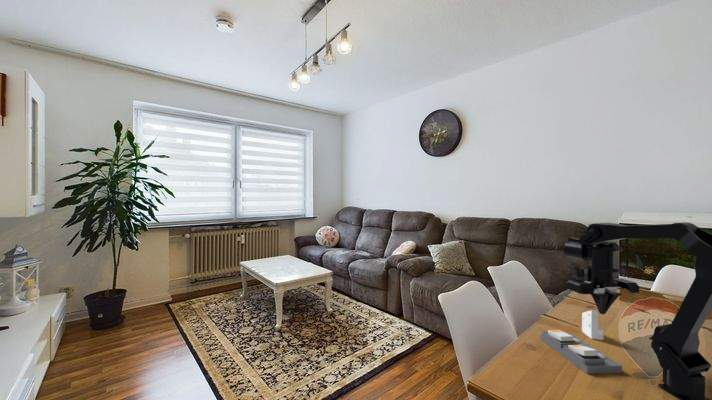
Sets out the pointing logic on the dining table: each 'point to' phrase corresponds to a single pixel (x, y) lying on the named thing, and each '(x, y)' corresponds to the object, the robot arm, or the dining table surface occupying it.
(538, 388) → the dining table surface
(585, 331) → the white wedge bracket
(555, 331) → the far rocker
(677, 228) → the robot arm
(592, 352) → the near rocker
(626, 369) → the dining table surface
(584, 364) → the grey stepped stand
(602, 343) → the dining table surface
